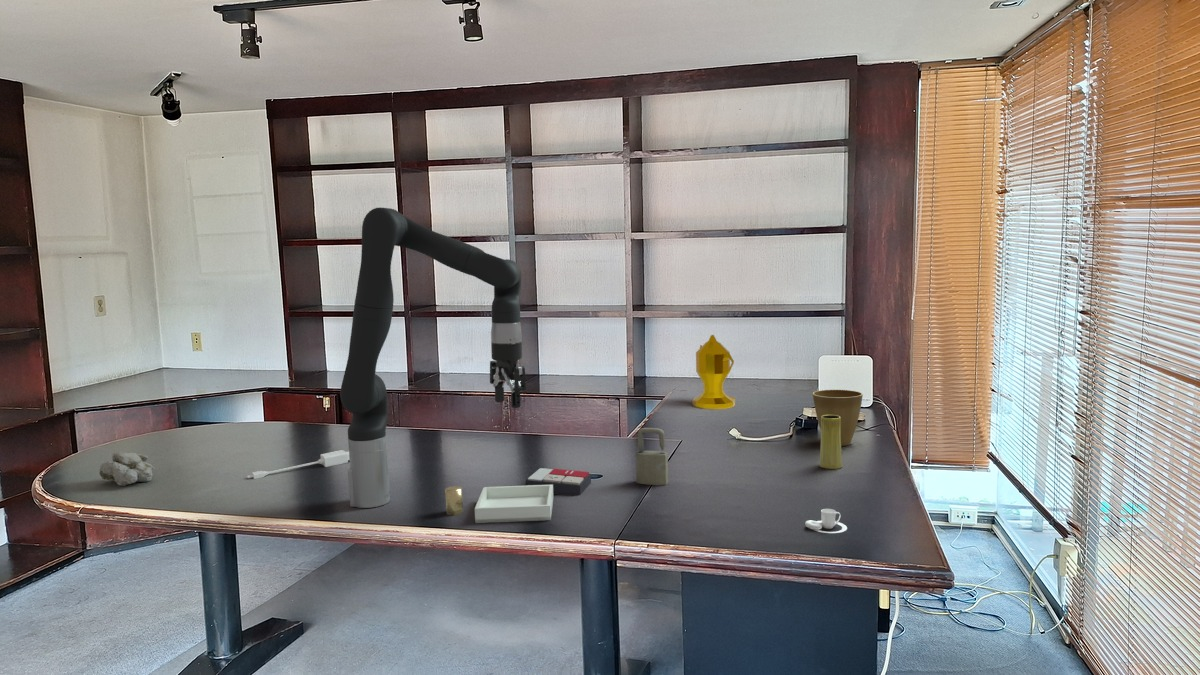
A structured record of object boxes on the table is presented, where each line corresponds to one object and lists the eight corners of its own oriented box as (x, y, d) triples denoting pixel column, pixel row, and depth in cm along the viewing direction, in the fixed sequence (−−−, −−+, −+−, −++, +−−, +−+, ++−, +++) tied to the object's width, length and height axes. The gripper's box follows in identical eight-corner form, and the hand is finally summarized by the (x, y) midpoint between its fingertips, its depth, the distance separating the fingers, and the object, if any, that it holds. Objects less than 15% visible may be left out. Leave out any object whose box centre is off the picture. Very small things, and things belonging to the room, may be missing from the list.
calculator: (580, 482, 199) (525, 477, 203) (579, 498, 200) (525, 493, 204) (591, 470, 210) (539, 465, 214) (591, 486, 210) (538, 480, 214)
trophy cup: (716, 397, 324) (715, 330, 321) (750, 407, 302) (750, 335, 299) (680, 401, 317) (678, 333, 314) (712, 412, 295) (711, 339, 292)
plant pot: (872, 443, 241) (872, 393, 239) (841, 451, 233) (841, 399, 231) (833, 435, 253) (833, 386, 252) (802, 442, 245) (802, 392, 243)
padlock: (665, 486, 205) (664, 430, 204) (635, 483, 208) (634, 429, 206) (669, 481, 209) (667, 427, 207) (640, 479, 212) (638, 425, 210)
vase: (846, 465, 218) (846, 415, 217) (835, 470, 214) (836, 419, 212) (825, 462, 222) (825, 413, 221) (815, 467, 218) (815, 417, 216)
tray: (475, 523, 182) (474, 508, 181) (484, 500, 198) (483, 487, 198) (550, 520, 182) (550, 505, 181) (553, 497, 198) (552, 484, 198)
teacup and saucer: (804, 533, 170) (803, 515, 169) (807, 520, 177) (807, 503, 177) (845, 537, 167) (846, 518, 166) (848, 524, 174) (848, 506, 174)
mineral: (125, 485, 214) (139, 450, 218) (81, 477, 220) (95, 443, 224) (160, 494, 225) (173, 460, 228) (118, 486, 231) (131, 454, 234)
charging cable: (246, 480, 227) (245, 469, 227) (356, 457, 245) (355, 446, 245) (249, 484, 223) (248, 473, 223) (361, 460, 241) (360, 449, 241)
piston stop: (445, 515, 188) (443, 491, 187) (448, 510, 192) (446, 486, 191) (461, 514, 188) (460, 490, 187) (464, 509, 192) (463, 485, 191)
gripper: (479, 338, 196) (481, 402, 198) (506, 344, 185) (508, 411, 186) (506, 336, 200) (507, 398, 202) (534, 342, 189) (535, 407, 191)
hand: (507, 404), depth 194 cm, fingers open, 8 cm apart
